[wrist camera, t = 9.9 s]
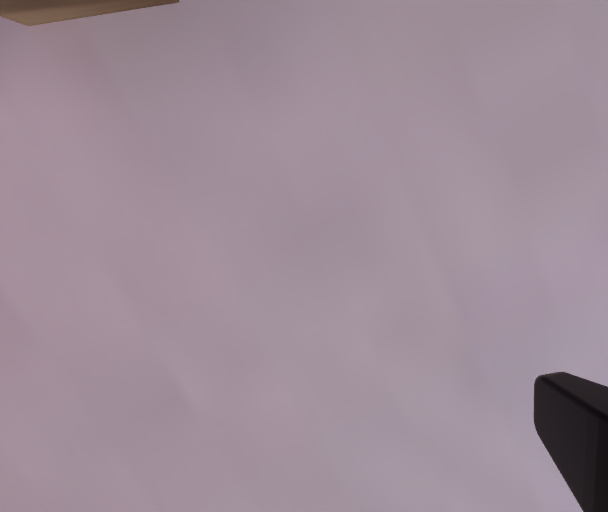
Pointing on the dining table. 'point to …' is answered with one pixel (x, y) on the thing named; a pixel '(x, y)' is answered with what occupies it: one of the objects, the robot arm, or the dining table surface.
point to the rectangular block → (67, 9)
